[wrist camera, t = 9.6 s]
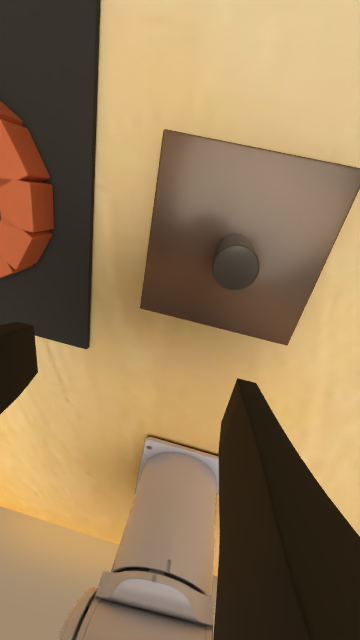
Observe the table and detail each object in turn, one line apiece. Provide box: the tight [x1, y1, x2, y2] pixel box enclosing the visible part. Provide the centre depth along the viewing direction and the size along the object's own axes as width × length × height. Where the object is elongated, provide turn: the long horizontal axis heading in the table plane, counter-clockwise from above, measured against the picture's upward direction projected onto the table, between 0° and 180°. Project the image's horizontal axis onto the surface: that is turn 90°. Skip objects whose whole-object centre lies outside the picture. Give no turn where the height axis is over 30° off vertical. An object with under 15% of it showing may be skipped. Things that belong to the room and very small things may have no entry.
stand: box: [140, 129, 360, 345], centre depth 13 cm, size 10×10×5 cm
